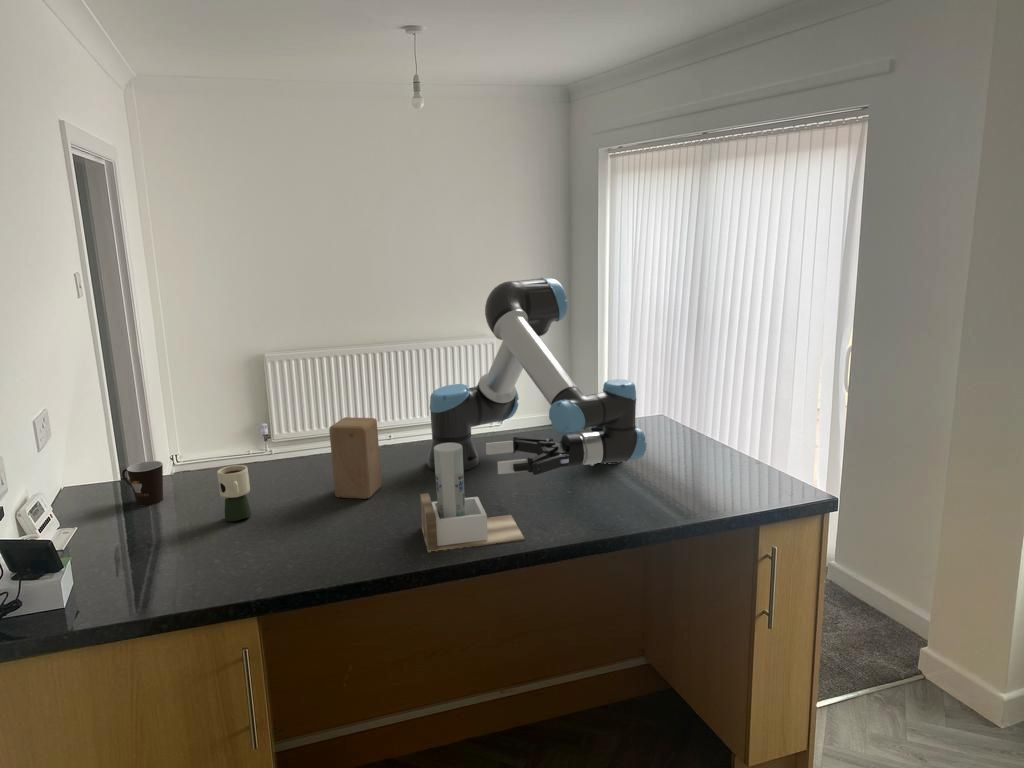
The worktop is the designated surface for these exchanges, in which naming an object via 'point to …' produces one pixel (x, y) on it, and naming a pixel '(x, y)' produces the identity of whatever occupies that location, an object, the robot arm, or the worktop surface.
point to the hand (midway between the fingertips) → (491, 458)
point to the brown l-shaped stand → (497, 531)
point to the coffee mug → (146, 481)
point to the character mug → (234, 491)
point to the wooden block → (355, 457)
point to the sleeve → (462, 524)
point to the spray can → (449, 480)
